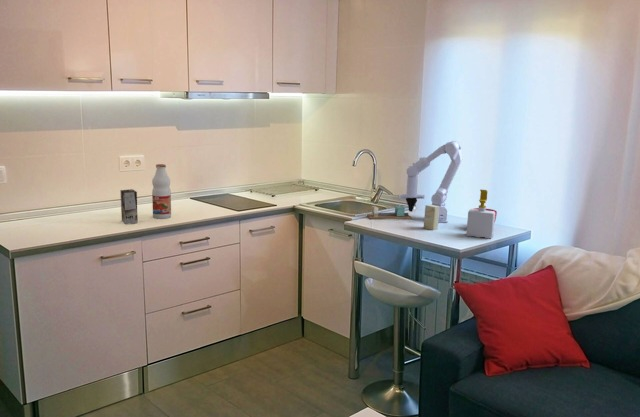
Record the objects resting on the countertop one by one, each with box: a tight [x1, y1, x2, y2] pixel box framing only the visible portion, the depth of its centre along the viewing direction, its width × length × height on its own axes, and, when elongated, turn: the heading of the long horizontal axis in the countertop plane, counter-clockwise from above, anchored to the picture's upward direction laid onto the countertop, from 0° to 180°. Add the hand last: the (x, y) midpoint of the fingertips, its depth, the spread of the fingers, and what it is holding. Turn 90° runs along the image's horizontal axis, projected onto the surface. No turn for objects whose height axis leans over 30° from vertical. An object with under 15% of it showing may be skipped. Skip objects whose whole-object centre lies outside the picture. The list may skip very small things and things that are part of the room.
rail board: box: [366, 205, 413, 220], centre depth 325 cm, size 9×24×6 cm, turn 100°
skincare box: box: [423, 204, 440, 231], centre depth 300 cm, size 6×4×12 cm
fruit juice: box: [151, 163, 172, 220], centre depth 307 cm, size 9×9×28 cm
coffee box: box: [120, 188, 139, 225], centre depth 295 cm, size 9×6×16 cm
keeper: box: [394, 205, 406, 216], centre depth 326 cm, size 5×4×5 cm
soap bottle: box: [465, 189, 496, 239], centre depth 286 cm, size 12×7×23 cm, turn 66°
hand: (410, 211), depth 328 cm, fingers closed
